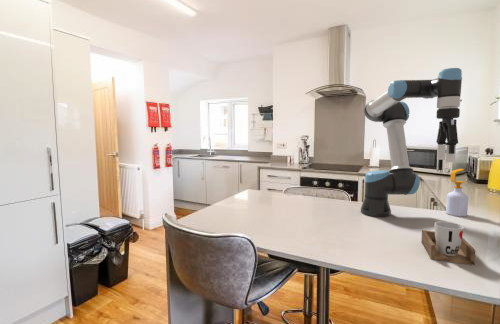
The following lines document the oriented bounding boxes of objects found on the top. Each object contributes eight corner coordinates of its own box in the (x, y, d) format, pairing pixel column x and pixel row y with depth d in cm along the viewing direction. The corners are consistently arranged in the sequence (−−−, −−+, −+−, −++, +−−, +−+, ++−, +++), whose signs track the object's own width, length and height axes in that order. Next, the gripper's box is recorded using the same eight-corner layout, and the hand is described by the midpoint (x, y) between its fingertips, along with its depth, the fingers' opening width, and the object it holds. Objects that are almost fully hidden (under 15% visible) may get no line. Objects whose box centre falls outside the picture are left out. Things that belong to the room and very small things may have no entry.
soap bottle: (471, 217, 139) (474, 170, 137) (451, 216, 141) (453, 169, 139) (461, 212, 148) (464, 168, 146) (442, 211, 150) (445, 167, 148)
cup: (445, 258, 90) (447, 229, 89) (427, 248, 98) (429, 222, 97) (468, 257, 91) (470, 228, 90) (448, 247, 99) (450, 221, 98)
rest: (430, 259, 92) (431, 244, 91) (421, 242, 107) (422, 230, 106) (474, 265, 87) (475, 250, 87) (458, 246, 102) (459, 233, 102)
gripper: (471, 104, 96) (467, 163, 98) (450, 110, 119) (447, 158, 121) (445, 105, 99) (442, 163, 100) (430, 111, 122) (427, 158, 123)
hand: (445, 160), depth 111 cm, fingers open, 13 cm apart
